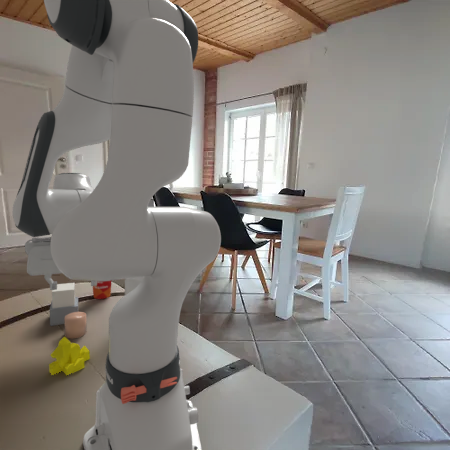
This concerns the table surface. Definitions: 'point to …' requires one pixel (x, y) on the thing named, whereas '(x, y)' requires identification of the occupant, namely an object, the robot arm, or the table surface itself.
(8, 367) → the table surface
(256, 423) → the table surface
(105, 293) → the paper cup
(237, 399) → the table surface
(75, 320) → the peach rounded cylinder
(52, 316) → the tower base block
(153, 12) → the robot arm
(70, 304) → the tower top block
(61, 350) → the yellow crystal cluster
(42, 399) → the table surface
